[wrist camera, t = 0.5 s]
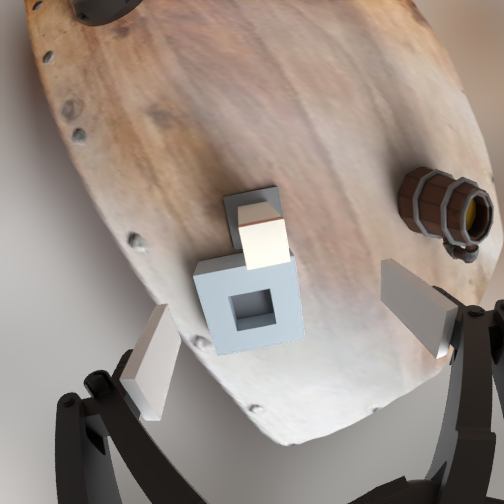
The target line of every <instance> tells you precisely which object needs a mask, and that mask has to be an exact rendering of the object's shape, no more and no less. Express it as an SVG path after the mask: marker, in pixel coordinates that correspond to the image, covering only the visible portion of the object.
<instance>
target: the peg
mask: <svg viewBox="0 0 504 504" xmlns="http://www.w3.org/2000/svg"><path fill="white" fill-rule="evenodd" d="M238 229H239V233H240V238H241V243H242V248H243V252H244V257H245V262H246V266H247V270H252V269H257V268H262V267H267V266H271V265H276V264H281V263H286V262H291V259H290V253H289V247H288V240H287V234H286V228H285V222H284V218H283V217H282V216H281V215H280V214H279V213H278V212H277V211H276V210H275V208H274V207H273V206H272V205H271V204H270V203H269V202H268V201H266V202H261V203H256V204H250V205H245V206H240V207H238Z"/></svg>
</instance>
